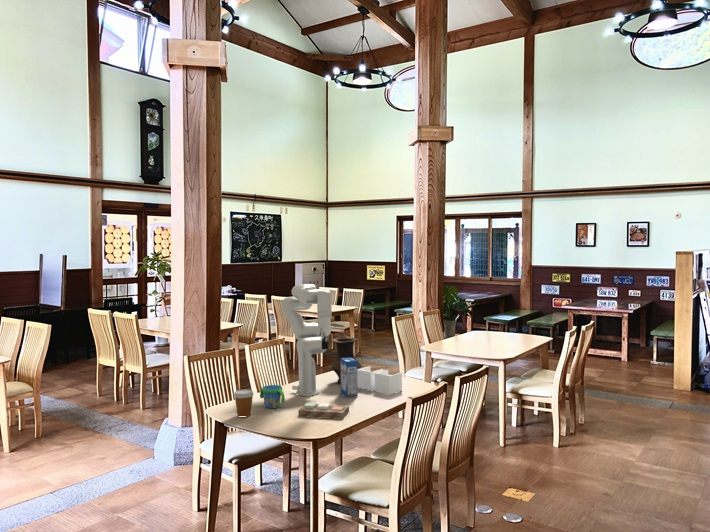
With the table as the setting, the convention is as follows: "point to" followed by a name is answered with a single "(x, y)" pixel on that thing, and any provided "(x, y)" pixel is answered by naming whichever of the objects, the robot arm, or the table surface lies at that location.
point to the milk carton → (349, 377)
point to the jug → (343, 352)
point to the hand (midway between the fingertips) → (325, 348)
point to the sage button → (310, 405)
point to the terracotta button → (337, 408)
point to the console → (324, 412)
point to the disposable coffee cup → (243, 402)
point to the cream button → (323, 406)
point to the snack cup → (272, 395)
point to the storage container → (379, 380)
